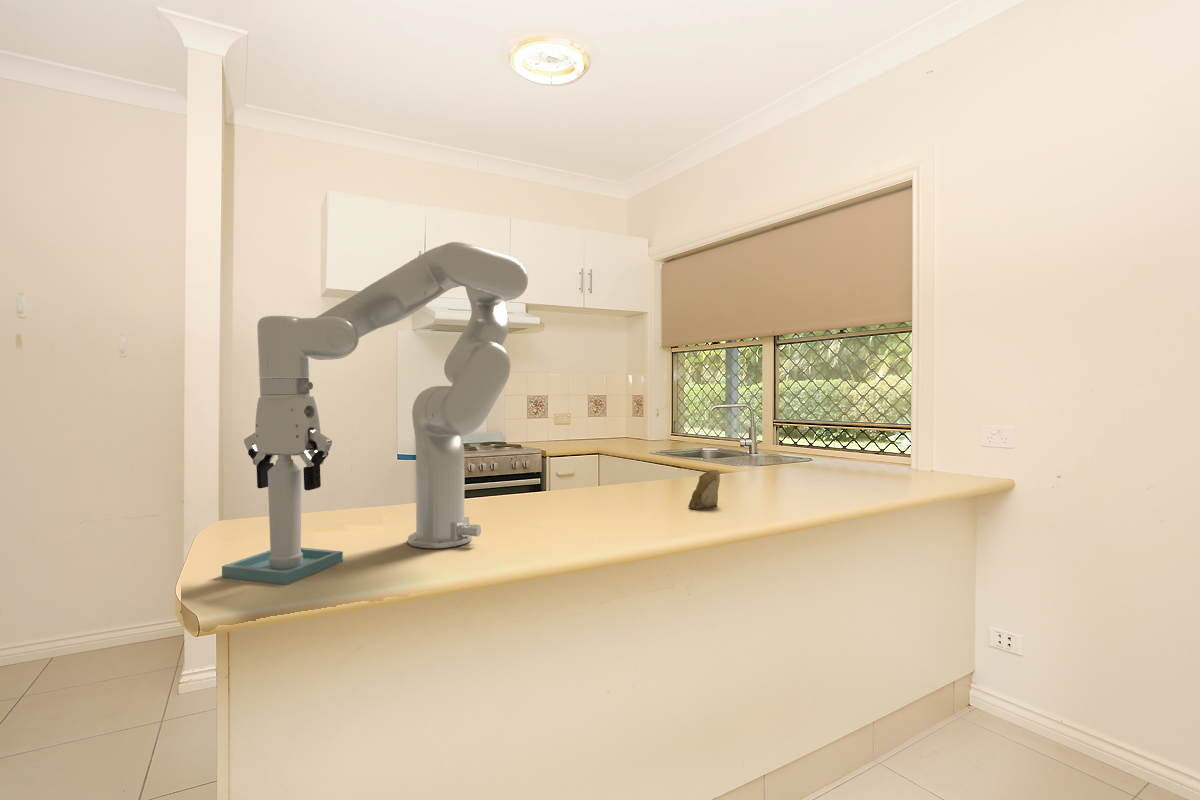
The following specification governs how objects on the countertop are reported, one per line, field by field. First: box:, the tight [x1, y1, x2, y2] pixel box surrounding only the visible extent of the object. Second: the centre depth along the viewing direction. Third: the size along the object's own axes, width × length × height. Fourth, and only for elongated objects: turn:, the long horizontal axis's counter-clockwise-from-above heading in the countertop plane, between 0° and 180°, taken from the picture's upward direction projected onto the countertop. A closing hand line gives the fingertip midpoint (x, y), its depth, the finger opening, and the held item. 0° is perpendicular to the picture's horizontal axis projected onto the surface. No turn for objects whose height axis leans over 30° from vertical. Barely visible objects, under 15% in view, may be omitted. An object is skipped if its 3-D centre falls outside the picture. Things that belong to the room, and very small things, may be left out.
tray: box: [221, 547, 344, 586], centre depth 103 cm, size 13×13×2 cm
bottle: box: [267, 455, 303, 569], centre depth 102 cm, size 5×5×25 cm
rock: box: [688, 469, 721, 510], centre depth 159 cm, size 11×9×10 cm
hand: (289, 487), depth 103 cm, fingers open, 9 cm apart
